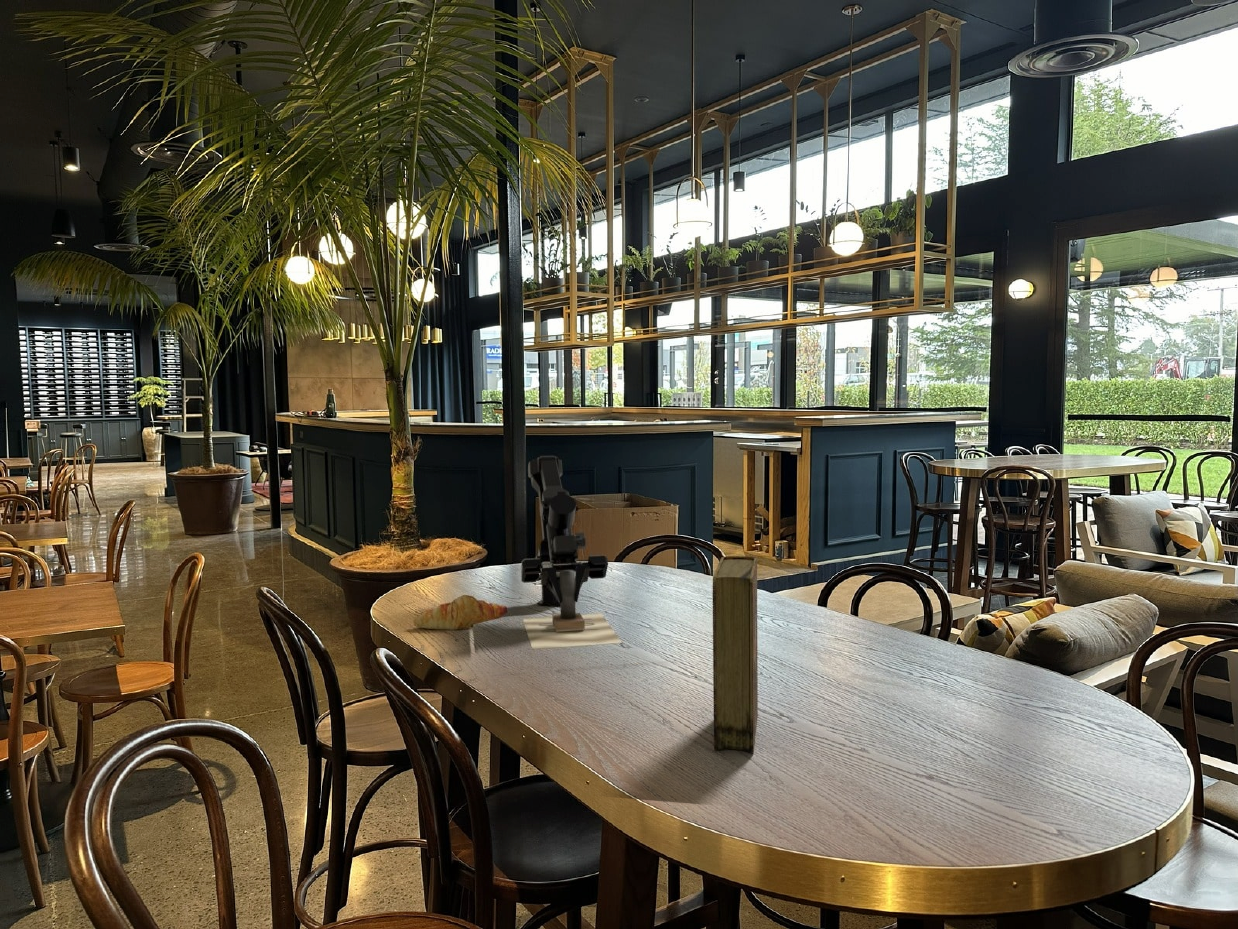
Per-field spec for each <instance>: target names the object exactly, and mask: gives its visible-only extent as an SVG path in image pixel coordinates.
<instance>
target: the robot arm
mask: <svg viewBox="0 0 1238 929" xmlns="http://www.w3.org/2000/svg"><path fill="white" fill-rule="evenodd" d="M562 461H563V460H562V459H559V457H558V456H555V455H540V456H539V457H538V456H537V458H535V459H532V460H530V461H529V462H528V466H527V474H528V475H527V476H528V478H530V480H531V487H532V488H533V489H534V490H535V491H536V493H537V494H538V498H539V499H538V501H539V516H540V523H541V525H540V526H541V533H542V540H541V542H540V543H539V547H538V550H537V553H538V554H537V555H536V556H535V557H534V558H523V559H522V560H521V566H520V567H521V568H520V578H521V583H524V584H526V583H527V584H528V583H537V582H539V581H540V584H541V599H540V600H539V601H537V603H536V605H537V604H540V605H539V606H550V605H553V606H554V607H560V603H561V593H560V571H562V570H574V571H575V603H578V602H579V596H580V592H581V589H582V586H583V584H584V583H587V582H588V580H589V578H590V579H591V580H593V579H594V580H595V579H604V578H606V576H607V572H608V565H609V561H608V557H607V556H606V555H605V554H595V555H594V554H593V555H591V554H590V555H589V554H588V558H587V561H577V560H578V559H579V553H578V550H579V549H585V547H586V545H587V542H586V535H585V532H576V533H575V534H574V535H573V526H574V522H575V515H576V514H577V513H576V512H578V511H579V509H578V508H579V506H578V505H577V502H576V501H575V499H574V497H572V496H570V492H569V491H568V490H567V489H564V488H563V486H562V480H561V477H562V476H563V462H562Z"/></svg>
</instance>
